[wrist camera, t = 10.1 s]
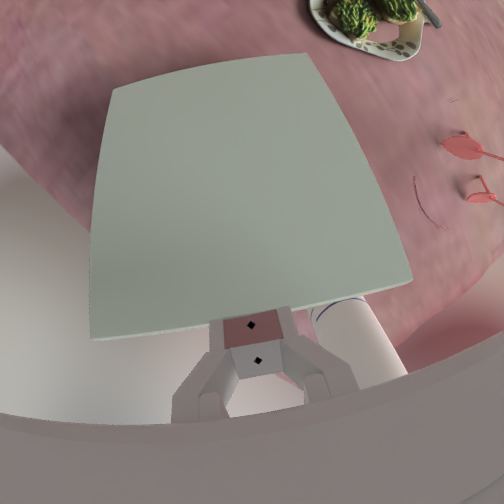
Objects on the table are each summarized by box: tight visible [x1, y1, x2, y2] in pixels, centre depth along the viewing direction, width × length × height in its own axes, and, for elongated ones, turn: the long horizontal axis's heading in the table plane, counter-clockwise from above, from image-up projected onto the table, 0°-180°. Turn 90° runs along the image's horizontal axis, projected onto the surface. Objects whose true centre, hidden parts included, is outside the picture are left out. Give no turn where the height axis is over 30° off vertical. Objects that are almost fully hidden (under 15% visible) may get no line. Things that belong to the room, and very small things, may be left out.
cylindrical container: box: [306, 295, 408, 390], centre depth 34 cm, size 7×7×25 cm
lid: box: [89, 53, 414, 341], centre depth 18 cm, size 20×17×1 cm
